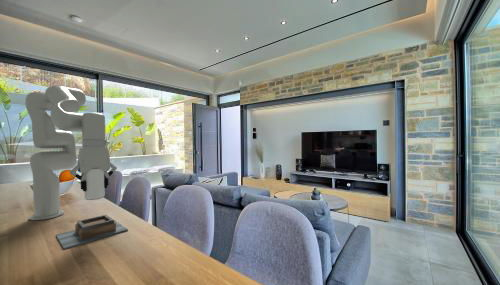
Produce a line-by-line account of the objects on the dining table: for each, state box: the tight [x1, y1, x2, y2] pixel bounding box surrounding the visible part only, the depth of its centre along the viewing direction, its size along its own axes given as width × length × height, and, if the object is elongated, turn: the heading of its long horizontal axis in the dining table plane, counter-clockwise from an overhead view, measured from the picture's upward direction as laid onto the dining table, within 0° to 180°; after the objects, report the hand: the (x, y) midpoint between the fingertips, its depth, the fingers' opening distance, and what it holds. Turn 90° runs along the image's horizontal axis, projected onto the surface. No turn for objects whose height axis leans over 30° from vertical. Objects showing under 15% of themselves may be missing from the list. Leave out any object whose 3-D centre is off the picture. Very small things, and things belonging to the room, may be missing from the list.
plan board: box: [55, 214, 129, 250], centre depth 87 cm, size 16×20×5 cm
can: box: [84, 168, 106, 201], centre depth 87 cm, size 6×6×12 cm
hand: (95, 188), depth 87 cm, fingers closed on can, 6 cm apart
